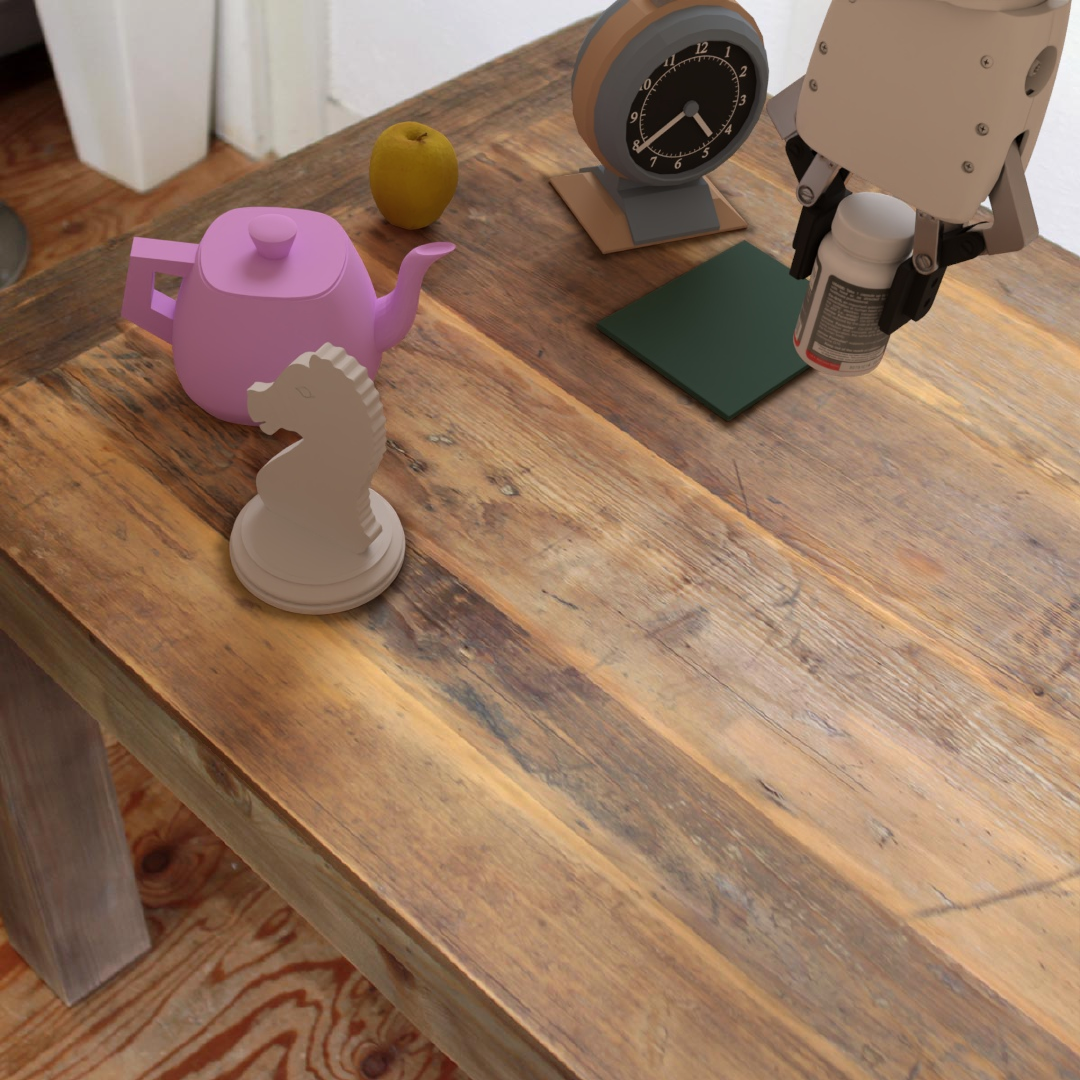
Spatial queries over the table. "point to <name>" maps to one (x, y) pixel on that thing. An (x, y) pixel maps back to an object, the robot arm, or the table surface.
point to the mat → (719, 329)
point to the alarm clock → (662, 118)
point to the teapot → (267, 301)
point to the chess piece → (319, 492)
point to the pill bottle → (854, 284)
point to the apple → (412, 174)
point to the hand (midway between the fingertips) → (855, 291)
